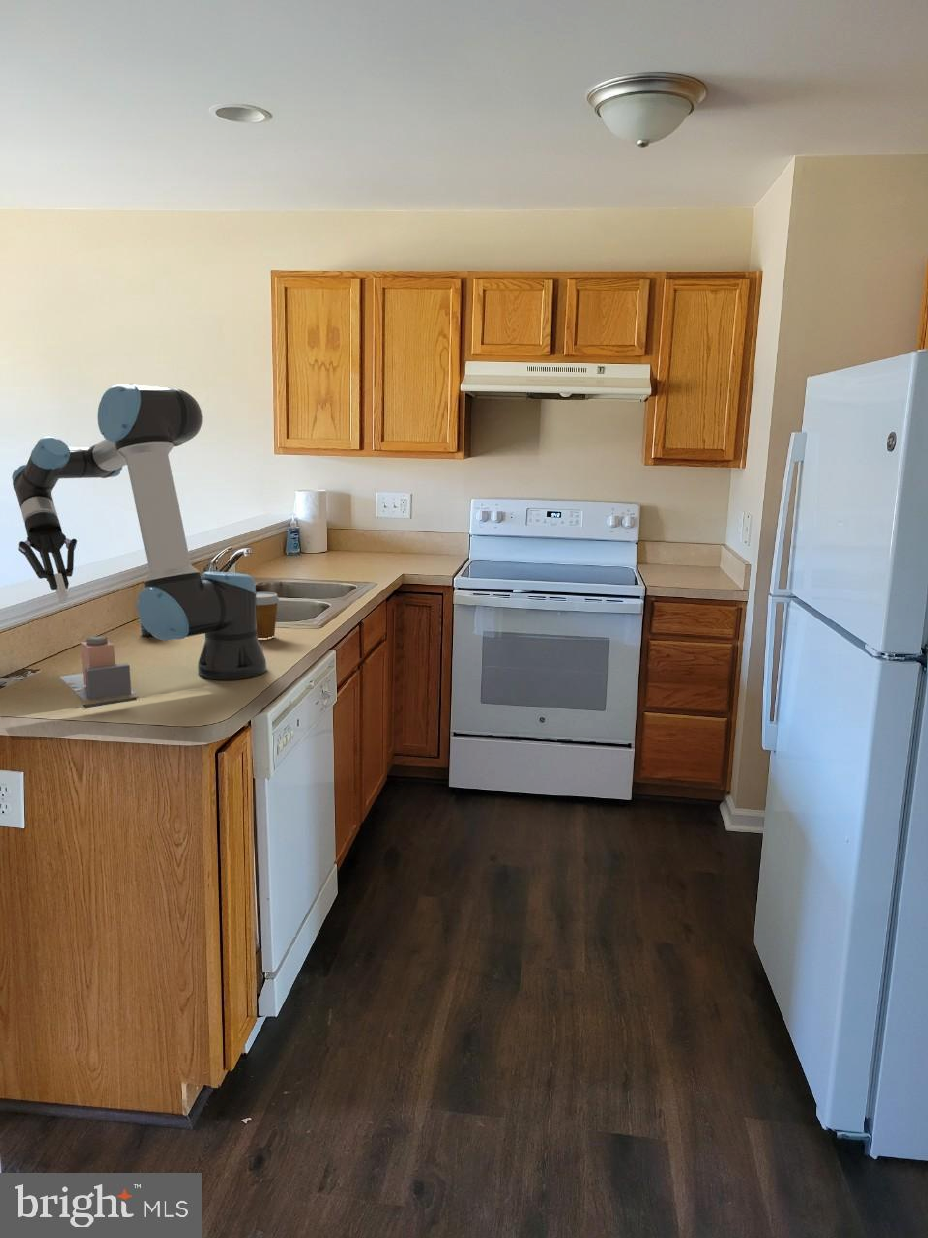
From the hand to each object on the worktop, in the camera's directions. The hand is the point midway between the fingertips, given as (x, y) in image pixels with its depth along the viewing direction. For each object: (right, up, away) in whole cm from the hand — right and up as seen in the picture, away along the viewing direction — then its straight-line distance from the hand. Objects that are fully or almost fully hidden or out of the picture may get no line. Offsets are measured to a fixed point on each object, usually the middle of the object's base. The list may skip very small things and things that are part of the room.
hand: (63, 599), depth 197 cm
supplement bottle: (+7, -9, +38) cm, 39 cm away
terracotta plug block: (+16, -19, -18) cm, 31 cm away
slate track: (+14, -20, -15) cm, 29 cm away
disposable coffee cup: (+37, -10, +36) cm, 52 cm away
